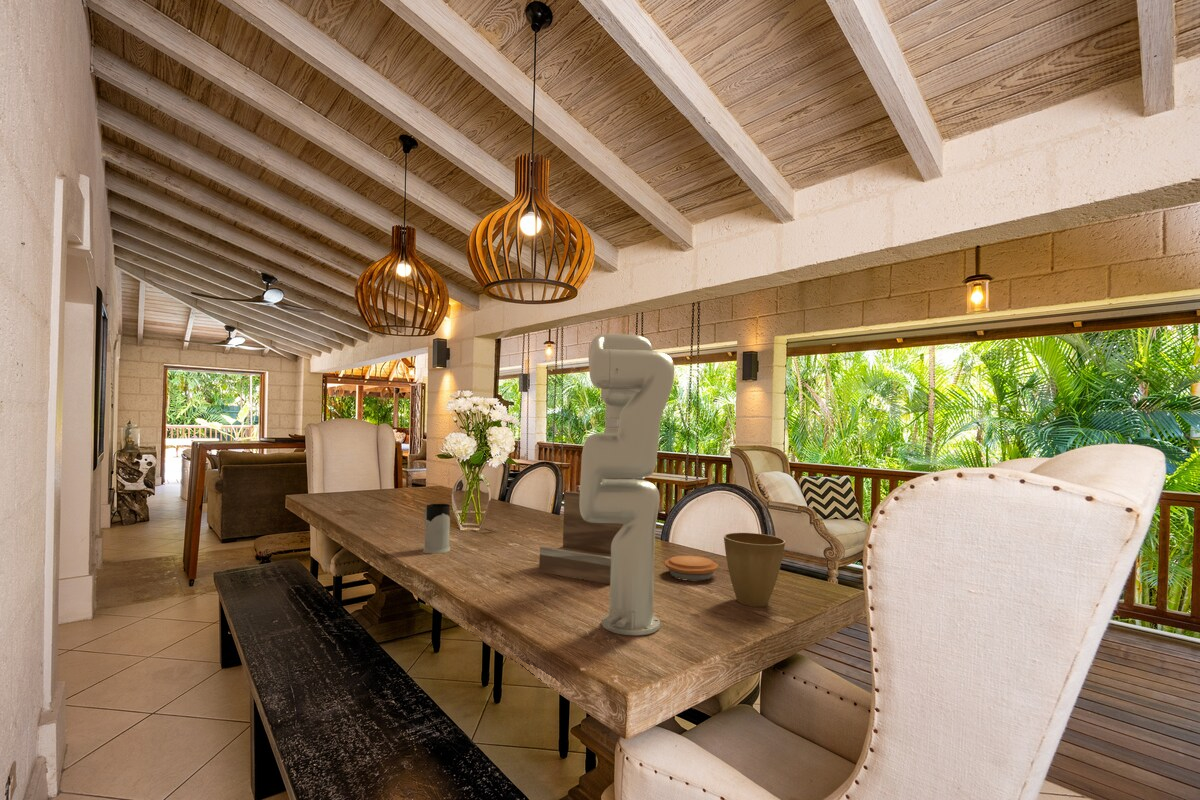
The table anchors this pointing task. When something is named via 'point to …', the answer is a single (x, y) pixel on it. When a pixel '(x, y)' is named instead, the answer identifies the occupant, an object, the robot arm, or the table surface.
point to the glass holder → (437, 528)
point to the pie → (691, 567)
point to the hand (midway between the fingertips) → (616, 486)
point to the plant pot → (753, 565)
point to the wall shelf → (580, 546)
